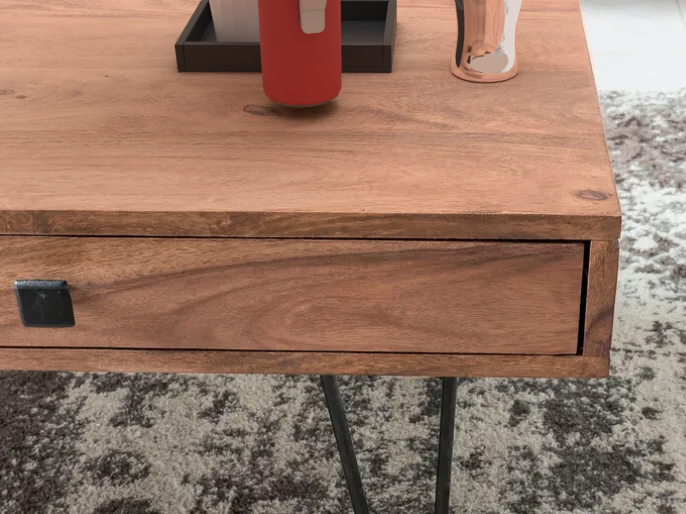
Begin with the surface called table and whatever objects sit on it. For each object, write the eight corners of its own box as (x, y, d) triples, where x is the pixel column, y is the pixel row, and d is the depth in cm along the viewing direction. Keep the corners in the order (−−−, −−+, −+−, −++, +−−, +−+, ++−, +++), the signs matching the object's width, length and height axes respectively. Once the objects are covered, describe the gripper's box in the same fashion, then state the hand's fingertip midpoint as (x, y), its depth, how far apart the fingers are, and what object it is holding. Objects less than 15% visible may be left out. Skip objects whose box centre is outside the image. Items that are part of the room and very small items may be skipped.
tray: (177, 71, 96) (174, 44, 95) (204, 22, 107) (201, -3, 106) (391, 72, 95) (391, 45, 93) (396, 22, 106) (396, -3, 104)
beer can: (296, 75, 92) (289, -70, 85) (357, 91, 89) (356, -58, 82) (247, 99, 88) (236, -52, 80) (309, 116, 84) (304, -38, 77)
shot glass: (290, 30, 103) (286, -44, 99) (270, 55, 98) (265, -23, 93) (224, 27, 104) (217, -47, 100) (200, 50, 99) (192, -26, 95)
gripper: (224, -197, 83) (237, -18, 92) (280, -150, 67) (289, 61, 76) (301, -201, 85) (307, -25, 93) (374, -155, 69) (373, 52, 77)
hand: (299, 15), depth 84 cm, fingers closed on beer can, 6 cm apart
